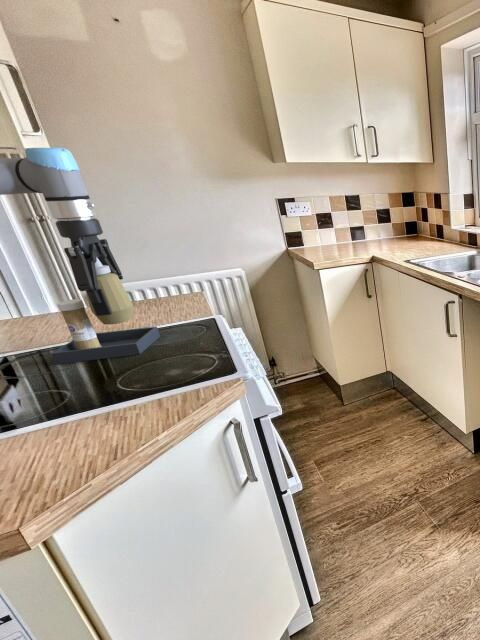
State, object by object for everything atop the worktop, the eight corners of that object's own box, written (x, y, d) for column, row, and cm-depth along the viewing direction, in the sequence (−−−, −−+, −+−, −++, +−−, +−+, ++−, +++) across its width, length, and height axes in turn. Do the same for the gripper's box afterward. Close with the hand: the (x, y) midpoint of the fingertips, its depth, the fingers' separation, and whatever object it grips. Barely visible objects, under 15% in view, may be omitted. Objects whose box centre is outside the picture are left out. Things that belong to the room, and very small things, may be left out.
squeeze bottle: (128, 314, 115) (102, 248, 108) (144, 318, 112) (118, 250, 105) (91, 324, 108) (60, 254, 101) (106, 328, 105) (76, 256, 98)
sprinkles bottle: (74, 354, 108) (51, 304, 103) (87, 347, 112) (65, 299, 107) (94, 352, 109) (72, 303, 103) (106, 346, 113) (86, 297, 108)
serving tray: (56, 364, 104) (50, 353, 102) (85, 344, 115) (81, 334, 114) (140, 354, 109) (136, 343, 108) (160, 336, 120) (157, 326, 119)
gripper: (70, 223, 92) (110, 320, 101) (116, 213, 110) (147, 297, 119) (26, 225, 90) (71, 324, 99) (81, 215, 108) (115, 300, 117)
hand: (113, 309), depth 109 cm, fingers closed on squeeze bottle, 8 cm apart
